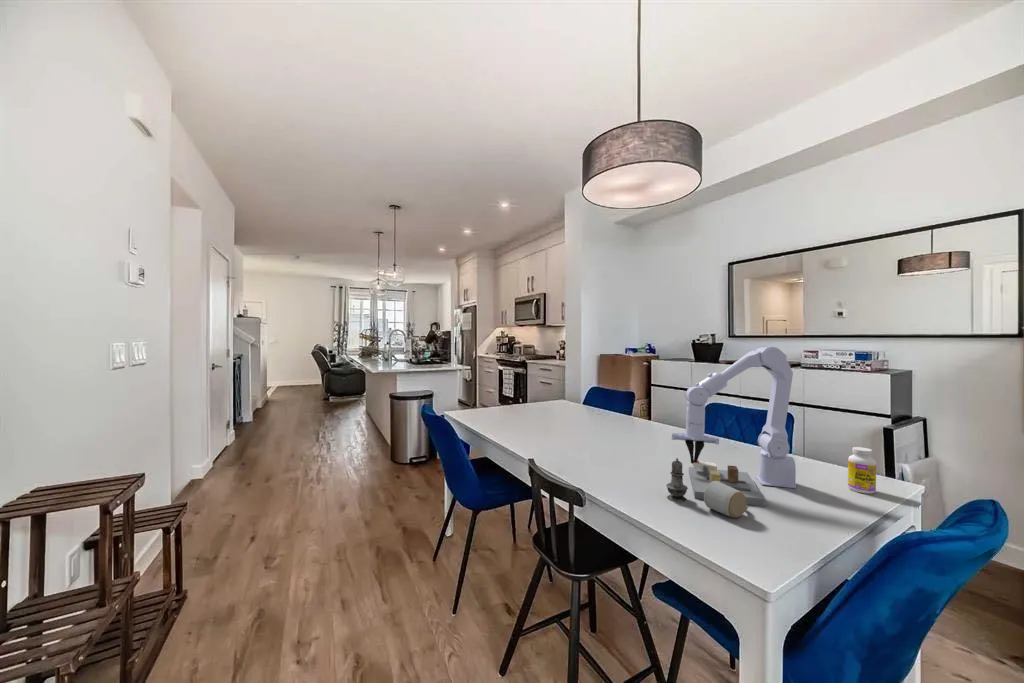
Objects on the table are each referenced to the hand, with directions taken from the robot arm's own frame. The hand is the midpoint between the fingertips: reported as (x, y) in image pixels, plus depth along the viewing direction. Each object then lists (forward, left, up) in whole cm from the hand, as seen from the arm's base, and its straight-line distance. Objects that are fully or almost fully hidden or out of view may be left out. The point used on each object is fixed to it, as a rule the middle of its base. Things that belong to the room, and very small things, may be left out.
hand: (693, 462), depth 141 cm
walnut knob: (-11, +6, -3) cm, 13 cm away
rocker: (-3, 0, -1) cm, 3 cm away
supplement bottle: (-48, -4, -5) cm, 48 cm away
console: (-8, +7, -5) cm, 12 cm away
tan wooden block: (-5, +14, -3) cm, 15 cm away
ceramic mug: (-6, +27, -5) cm, 28 cm away
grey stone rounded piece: (+6, +21, -5) cm, 23 cm away
